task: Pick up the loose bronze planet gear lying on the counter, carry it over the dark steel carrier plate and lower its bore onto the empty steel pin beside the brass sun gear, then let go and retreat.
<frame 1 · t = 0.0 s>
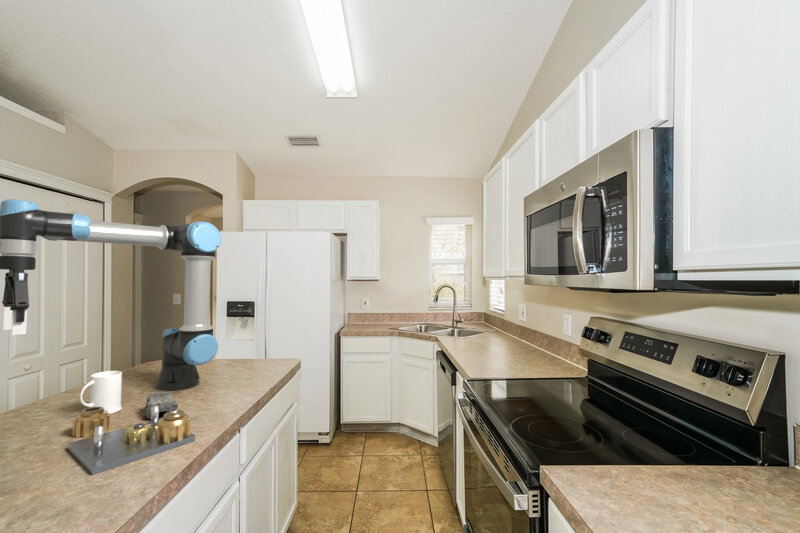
hand: (14, 331, 105), 28 cm above the counter, fingers open, 13 cm apart
carrier: (133, 445, 98), on the counter
mug: (99, 413, 120), on the counter
gear: (91, 431, 106), on the counter
rock: (158, 415, 120), on the counter
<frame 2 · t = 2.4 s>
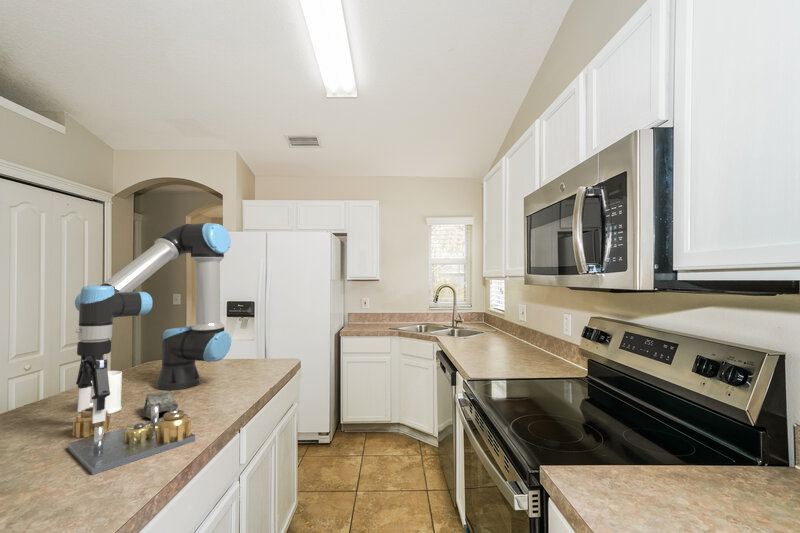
hand: (90, 416, 106), 4 cm above the counter, fingers open, 13 cm apart
nothing on the counter moved.
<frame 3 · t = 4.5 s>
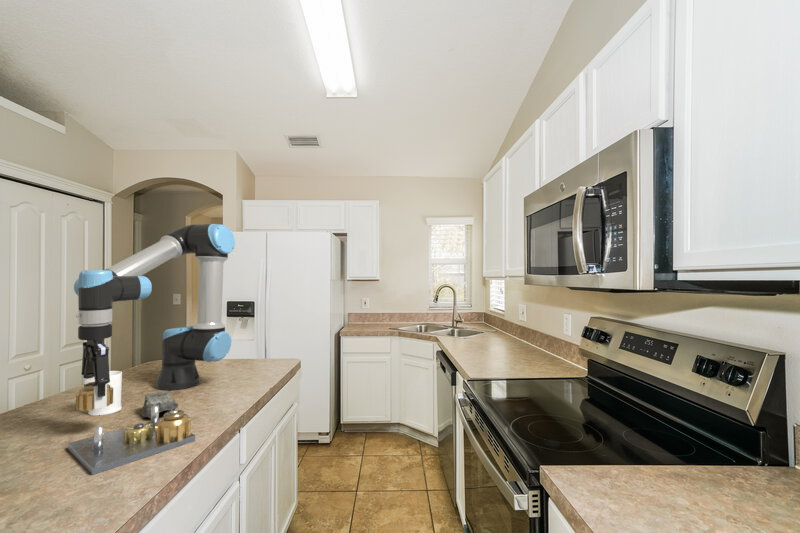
hand: (95, 404, 107), 7 cm above the counter, fingers closed on gear, 8 cm apart
gear: (95, 405, 107), point 7 cm above the counter, touching gripper
everything else where it was.
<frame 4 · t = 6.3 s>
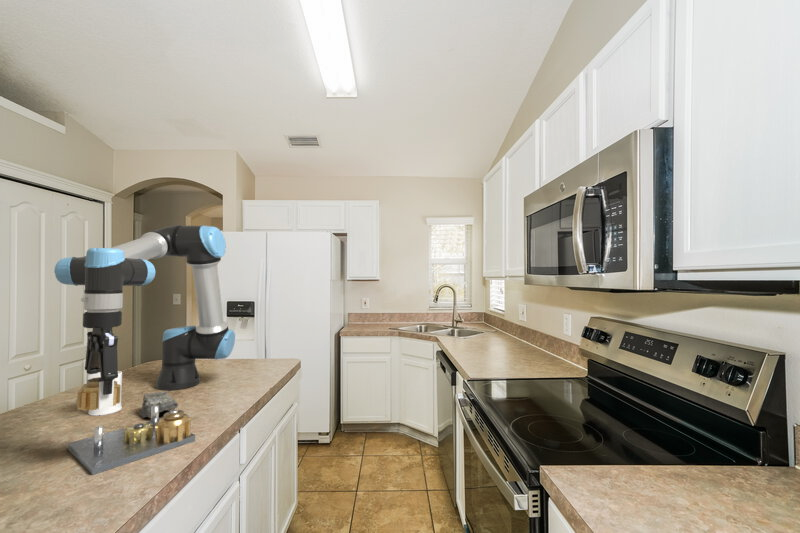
hand: (99, 403, 92), 13 cm above the counter, fingers closed on gear, 8 cm apart
gear: (99, 404, 92), point 13 cm above the counter, touching gripper
when the fingers open (3 cm above the counter, at t = 8.3 s): gear stays where it is, resting on carrier.
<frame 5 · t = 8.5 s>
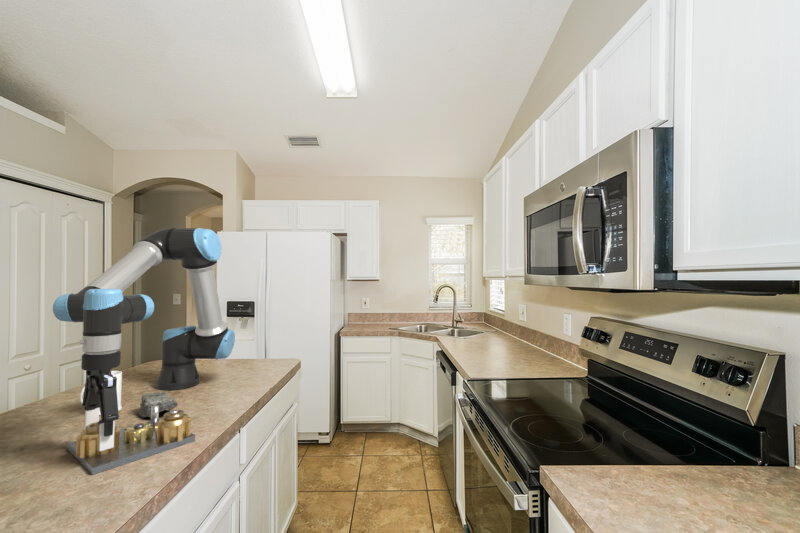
hand: (98, 442, 92), 3 cm above the counter, fingers open, 10 cm apart
gear: (98, 450, 92), point 1 cm above the counter, touching carrier
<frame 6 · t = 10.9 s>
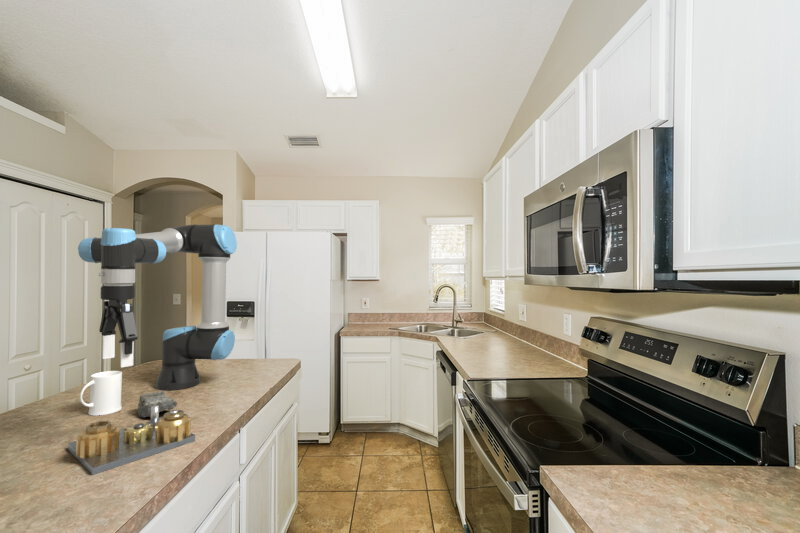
hand: (117, 362, 103), 20 cm above the counter, fingers open, 13 cm apart
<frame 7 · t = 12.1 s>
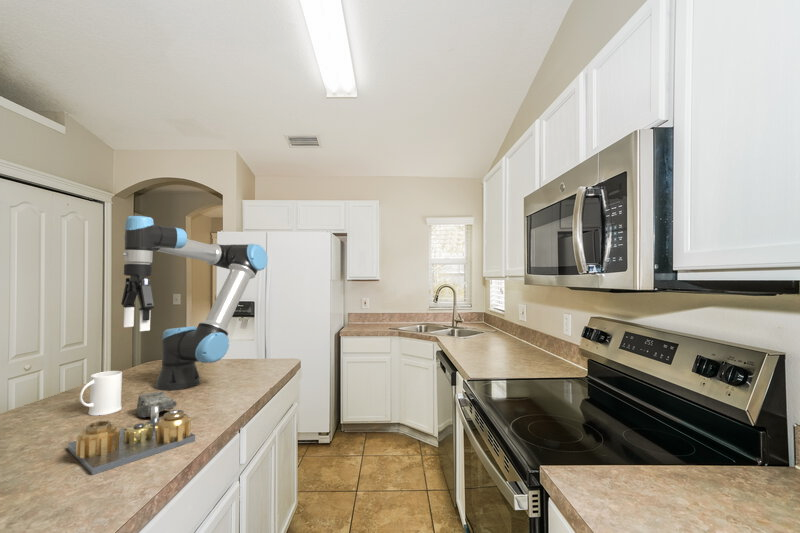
hand: (136, 328, 122), 27 cm above the counter, fingers open, 13 cm apart
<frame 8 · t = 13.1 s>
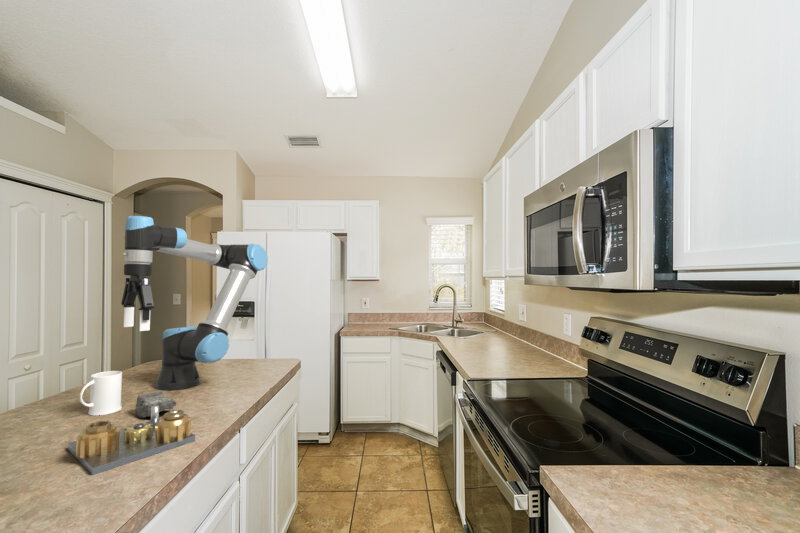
hand: (136, 328, 122), 27 cm above the counter, fingers open, 13 cm apart
at the end: gear 0.1 cm from the target spot on the carrier, point 1.5 cm above the carrier's base; gear tilted 0°; the gripper is holding nothing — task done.
